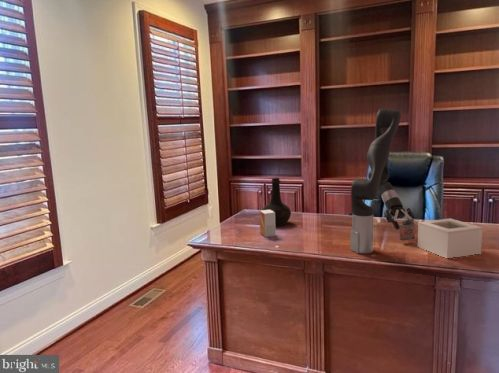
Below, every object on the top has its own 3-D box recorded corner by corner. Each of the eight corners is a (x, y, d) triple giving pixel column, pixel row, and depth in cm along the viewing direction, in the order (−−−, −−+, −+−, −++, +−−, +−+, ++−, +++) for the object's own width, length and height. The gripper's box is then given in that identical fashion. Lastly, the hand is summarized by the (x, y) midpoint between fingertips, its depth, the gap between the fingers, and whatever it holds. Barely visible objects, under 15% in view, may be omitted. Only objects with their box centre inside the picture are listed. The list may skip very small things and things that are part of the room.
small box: (260, 233, 211) (259, 210, 209) (270, 232, 213) (270, 209, 211) (264, 237, 203) (264, 213, 201) (276, 235, 205) (275, 212, 203)
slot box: (446, 259, 161) (448, 231, 160) (417, 247, 178) (418, 222, 177) (481, 254, 166) (482, 227, 164) (449, 242, 183) (450, 218, 181)
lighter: (402, 241, 182) (402, 220, 181) (397, 239, 185) (398, 219, 184) (416, 239, 184) (417, 219, 183) (411, 237, 188) (412, 217, 186)
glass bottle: (258, 227, 224) (256, 180, 220) (265, 219, 241) (264, 175, 237) (287, 228, 219) (286, 180, 215) (293, 220, 236) (292, 176, 232)
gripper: (382, 197, 190) (397, 225, 180) (407, 195, 193) (422, 222, 184) (376, 206, 195) (389, 233, 186) (400, 203, 199) (414, 230, 190)
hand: (405, 228), depth 185 cm, fingers closed on lighter, 8 cm apart
